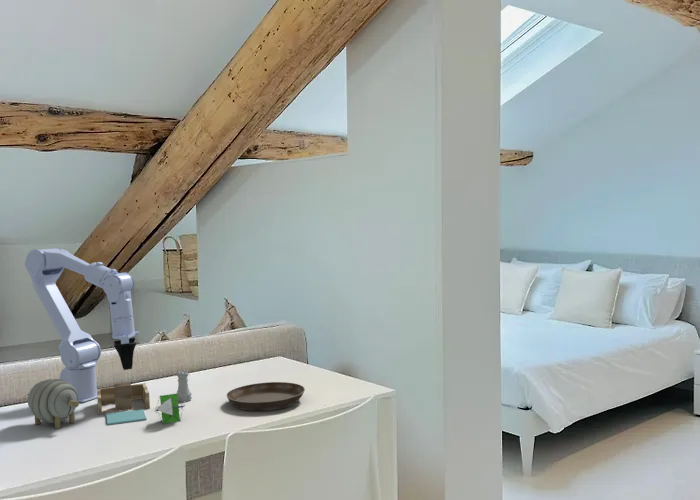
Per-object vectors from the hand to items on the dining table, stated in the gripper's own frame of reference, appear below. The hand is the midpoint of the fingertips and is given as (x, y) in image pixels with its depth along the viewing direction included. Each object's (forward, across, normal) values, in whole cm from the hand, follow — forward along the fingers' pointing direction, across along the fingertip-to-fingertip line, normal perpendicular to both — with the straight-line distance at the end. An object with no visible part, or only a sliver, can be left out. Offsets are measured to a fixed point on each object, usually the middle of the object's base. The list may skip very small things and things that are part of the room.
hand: (127, 367), depth 184 cm
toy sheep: (+9, -13, +18) cm, 24 cm away
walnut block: (+10, -6, +2) cm, 11 cm away
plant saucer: (+13, -16, -34) cm, 39 cm away
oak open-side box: (+10, -4, +2) cm, 10 cm away
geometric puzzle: (+11, -23, -8) cm, 27 cm away
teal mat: (+10, -15, +2) cm, 18 cm away
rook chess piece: (+11, -4, -14) cm, 18 cm away
